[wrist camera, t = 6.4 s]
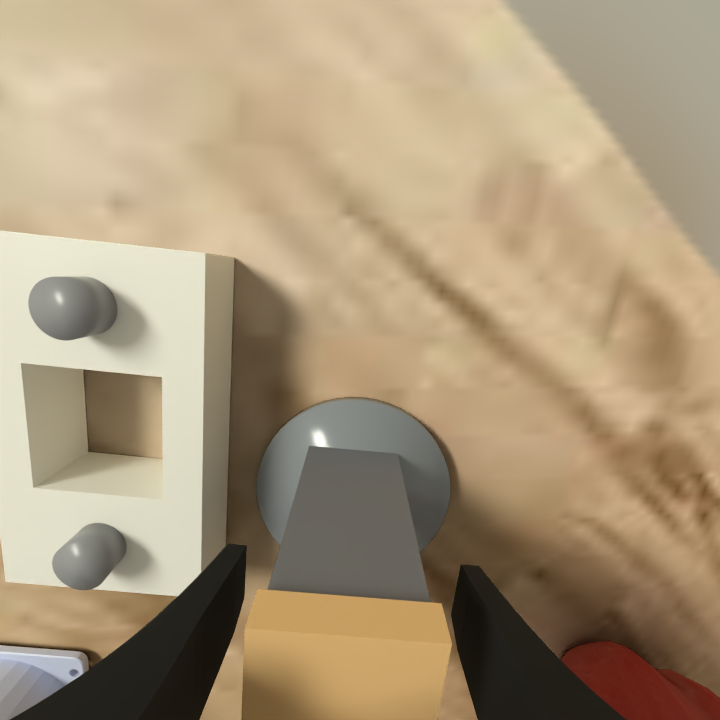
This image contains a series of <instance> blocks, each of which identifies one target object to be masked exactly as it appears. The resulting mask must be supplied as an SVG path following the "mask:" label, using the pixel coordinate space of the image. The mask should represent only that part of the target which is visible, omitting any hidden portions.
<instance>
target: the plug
mask: <svg viewBox="0 0 720 720" xmlns="http://www.w3.org/2000/svg"><path fill="white" fill-rule="evenodd" d="M451 647H452V642H451V638H450V634H449V630H448V626H447V622H446V618H445V615H444V611H443V607H442V603H431V602H430V597H429V593H428V588H427V584H426V579H425V575H424V570H423V566H422V561H421V557H420V552H419V548H418V543H417V539H416V534H415V530H414V525H413V521H412V516H411V512H410V507H409V503H408V498H407V493H406V489H405V484H404V480H403V475H402V471H401V466H400V462H399V457H398V454H397V453H386V452H374V451H363V450H352V449H341V448H329V447H318V446H309V448H308V452H307V455H306V458H305V462H304V465H303V469H302V472H301V476H300V479H299V483H298V486H297V490H296V493H295V497H294V500H293V504H292V507H291V510H290V514H289V517H288V521H287V524H286V528H285V531H284V535H283V538H282V542H281V545H280V549H279V552H278V555H277V559H276V562H275V566H274V569H273V573H272V576H271V580H270V583H269V587H268V590H264V589H257V592H256V595H255V598H254V601H253V604H252V608H251V611H250V614H249V617H248V620H247V623H246V626H245V637H244V664H243V692H242V720H438V715H439V709H440V704H441V699H442V694H443V688H444V683H445V678H446V673H447V668H448V662H449V657H450V652H451Z"/></svg>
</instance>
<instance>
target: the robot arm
mask: <svg viewBox="0 0 720 720" xmlns="http://www.w3.org/2000/svg"><path fill="white" fill-rule="evenodd" d="M246 549H247V546H245V545H234V544H228V545H226V546H225V547H224V548H223V549H222V550H221V552H220V553H219V554H218V555H217V556H216V557H215V558H214V559H213V560H212V562H211V563H210V564H209V565H208V566H207V567H206V568H205V569H204V570H203V571H202V572H201V573H200V574H199V575H198V577H197V578H196V579H195V580H194V581H193V582H192V583H191V584H190V585H189V586H188V587H187V588H186V589H185V590H184V591H183V592H182V593H181V594H180V595H179V596H178V597H177V598H176V599H174V600H173V601H172V602H171V603H170V604H169V605H168V606H167V607H166V608H165V609H164V610H163V611H161V612H160V613H159V614H158V615H157V616H156V617H155V618H154V619H153V620H152V621H150V622H149V623H148V624H147V625H146V626H145V627H143V628H142V629H141V630H140V631H139V632H137V633H136V634H135V635H134V636H133V637H131V638H130V639H129V640H128V641H126V642H125V643H124V644H123V645H121V646H120V647H119V648H117V649H116V650H115V651H113V652H112V653H111V654H109V655H108V656H107V657H105V658H104V659H103V660H101V661H100V662H99V663H97V664H96V665H95V666H93V667H92V668H90V669H89V667H88V658H87V656H86V654H84V653H83V652H79V651H68V650H56V649H43V648H30V647H18V646H5V645H0V720H199V719H200V717H201V714H202V711H203V709H204V706H205V704H206V702H207V699H208V697H209V694H210V692H211V689H212V687H213V684H214V682H215V679H216V677H217V674H218V672H219V669H220V667H221V664H222V662H223V659H224V657H225V654H226V652H227V649H228V646H229V644H230V641H231V639H232V636H233V634H234V631H235V628H236V624H237V621H238V618H239V614H240V611H241V607H242V603H243V600H244V593H245V571H246ZM451 616H452V622H453V628H454V634H455V639H456V644H457V649H458V653H459V657H460V660H461V664H462V667H463V671H464V674H465V678H466V681H467V684H468V688H469V691H470V695H471V698H472V701H473V705H474V708H475V712H476V715H477V718H478V720H626V719H625V718H624V717H623V716H621V715H620V714H619V713H618V712H617V711H616V710H614V709H613V708H612V707H611V706H610V705H609V704H607V703H606V702H605V701H604V700H603V699H602V698H600V697H599V696H598V695H597V694H596V693H595V692H594V691H593V690H591V689H590V688H589V687H588V686H587V685H586V684H585V683H584V682H583V681H582V680H581V679H580V678H579V677H577V676H576V675H575V674H574V673H573V672H572V671H571V670H570V669H569V668H568V667H567V666H566V665H565V664H564V663H563V662H562V661H561V660H560V659H559V658H558V657H557V656H556V655H555V654H554V653H553V652H552V651H551V650H550V649H549V648H548V647H547V646H546V644H545V643H544V642H543V641H542V640H541V639H540V638H539V637H538V636H537V635H536V634H535V633H534V632H533V630H532V629H531V628H530V627H529V626H528V625H527V624H526V622H525V621H524V620H523V619H522V618H521V617H520V616H519V614H518V613H517V612H516V611H515V610H514V609H513V607H512V606H511V605H510V604H509V603H508V601H507V600H506V599H505V598H504V596H503V595H502V594H501V593H500V592H499V590H498V589H497V588H496V587H495V585H494V584H493V583H492V582H491V580H490V579H489V578H488V577H487V575H486V574H485V573H484V572H483V570H482V569H481V568H480V567H479V566H472V565H461V567H460V572H459V577H458V583H457V588H456V593H455V598H454V603H453V608H452V613H451Z"/></svg>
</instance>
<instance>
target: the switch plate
mask: <svg viewBox="0 0 720 720" xmlns="http://www.w3.org/2000/svg"><path fill="white" fill-rule="evenodd" d="M234 258H235V257H228V256H221V255H214V254H208V253H199V252H190V251H181V250H172V249H163V248H154V247H145V246H136V245H127V244H117V243H108V242H99V241H90V240H81V239H72V238H63V237H54V236H45V235H36V234H27V233H18V232H9V231H0V539H1V547H2V555H3V563H4V571H5V579H6V582H15V583H26V584H38V585H50V586H62V587H71V588H74V589H78V590H89V589H98V590H110V591H122V592H134V593H146V594H158V595H170V596H179V595H180V594H181V593H182V592H183V591H184V590H185V589H186V588H187V587H188V586H189V585H190V584H191V583H192V582H193V581H194V580H195V579H196V578H197V577H198V575H199V574H200V573H201V572H202V571H203V570H204V569H205V568H206V567H207V566H208V565H209V564H210V563H211V562H212V560H213V559H214V558H215V557H216V556H217V555H218V554H219V553H220V552H221V550H222V549H223V548H224V547H225V546H226V521H227V488H228V455H229V422H230V389H231V357H232V324H233V291H234ZM83 369H85V370H95V371H105V372H115V373H125V374H135V375H145V376H155V377H162V427H163V459H158V458H148V457H137V456H127V455H116V454H105V453H95V452H88V439H87V422H86V406H85V389H84V373H83Z"/></svg>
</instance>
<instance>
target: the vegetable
mask: <svg viewBox="0 0 720 720" xmlns="http://www.w3.org/2000/svg"><path fill="white" fill-rule="evenodd" d="M561 661H562V662H563V663H564V664H565V665H566V666H567V667H568V668H569V669H570V670H571V671H572V672H573V673H574V674H575V675H576V676H577V677H579V678H580V679H581V680H582V681H583V682H584V683H585V684H586V685H587V686H588V687H589V688H590V689H591V690H593V691H594V692H595V693H596V694H597V695H598V696H599V697H600V698H602V699H603V700H604V701H605V702H606V703H607V704H609V705H610V706H611V707H612V708H613V709H614V710H616V711H617V712H618V713H619V714H620V715H621V716H623V717H624V718H625V719H626V720H720V698H719V697H718V696H717V695H715V694H714V693H713V692H711V691H710V690H709V689H708V688H706V687H704V686H702V685H700V684H698V683H696V682H694V681H692V680H690V679H688V678H686V677H684V676H682V675H680V674H678V673H676V672H674V671H673V670H657V669H654V668H653V667H652V666H651V665H650V664H648V663H647V662H646V661H645V660H644V659H643V658H641V657H640V656H639V655H637V654H636V653H634V652H633V651H632V650H630V649H629V648H627V647H626V646H623V645H620V644H617V643H614V642H611V641H602V642H594V643H588V644H584V645H580V646H577V647H574V648H572V649H571V650H569V651H568V652H567V653H566V654H565V655H564V657H563V658H562V659H561Z"/></svg>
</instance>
